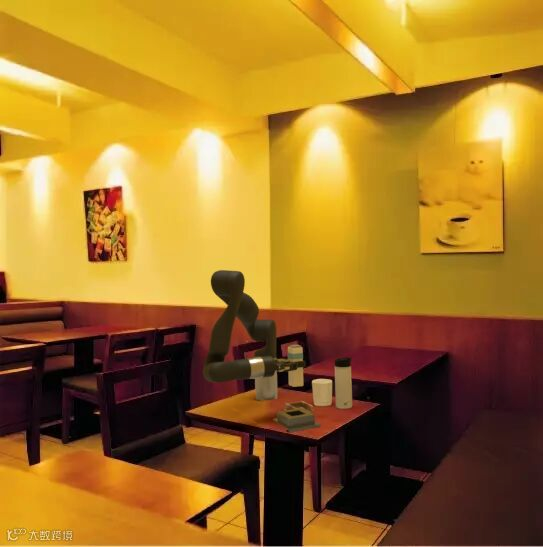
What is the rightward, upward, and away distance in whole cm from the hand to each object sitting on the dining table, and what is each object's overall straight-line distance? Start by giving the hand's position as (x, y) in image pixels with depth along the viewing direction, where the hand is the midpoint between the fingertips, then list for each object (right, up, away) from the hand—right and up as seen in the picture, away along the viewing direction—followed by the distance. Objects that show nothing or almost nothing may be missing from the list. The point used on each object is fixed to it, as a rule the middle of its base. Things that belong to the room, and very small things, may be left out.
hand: (302, 362), depth 205 cm
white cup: (+9, -19, +13) cm, 25 cm away
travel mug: (+17, -19, +8) cm, 27 cm away
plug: (-2, -8, -1) cm, 8 cm away
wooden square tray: (-1, -20, +6) cm, 21 cm away
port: (-3, -20, -9) cm, 22 cm away
